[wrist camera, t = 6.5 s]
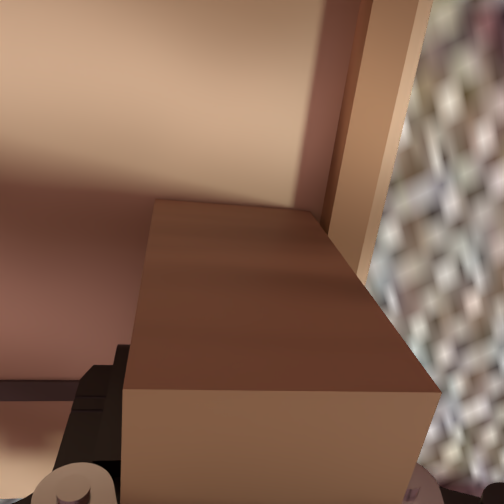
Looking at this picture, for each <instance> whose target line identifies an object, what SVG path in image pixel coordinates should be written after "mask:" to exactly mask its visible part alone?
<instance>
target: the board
mask: <svg viewBox="0 0 504 504" xmlns="http://www.w3.org/2000/svg"><path fill="white" fill-rule="evenodd" d="M432 3H433V0H0V499H10V498H25V497H27V496H28V495H30V494H32V493H33V492H34V491H35V489H36V487H37V485H38V484H39V483H40V482H41V480H42V479H44V478H45V477H46V476H47V475H48V474H49V473H51V472H52V470H53V467H54V464H55V461H56V458H57V454H58V451H59V448H60V444H61V441H62V438H63V434H64V431H65V428H66V424H67V421H68V418H69V414H70V413H71V408H72V404H73V401H74V399H75V394H76V391H77V388H78V384H79V381H80V379H81V378H82V376H83V375H84V374H85V373H86V372H87V371H88V370H89V369H90V368H91V367H92V366H93V365H113V362H114V357H115V353H116V348H117V345H118V344H130V343H131V337H132V332H133V326H134V320H135V314H136V308H137V302H138V296H139V290H140V285H141V279H142V273H143V267H144V261H145V255H146V249H147V244H148V238H149V232H150V226H151V220H152V214H153V208H154V203H155V199H163V200H176V201H189V202H201V203H214V204H226V205H239V206H251V207H264V208H277V209H289V210H302V211H310V212H311V213H312V215H313V216H314V218H315V219H316V220H317V222H318V223H319V224H320V226H321V227H322V229H323V230H324V231H325V233H326V234H327V235H328V237H329V238H330V240H331V241H332V242H333V244H334V245H335V246H336V248H337V249H338V251H339V252H340V253H341V255H342V256H343V257H344V259H345V260H346V262H347V263H348V264H349V266H350V267H351V268H352V270H353V271H354V273H355V274H356V275H357V277H358V278H359V279H360V281H361V282H362V284H363V285H364V286H365V283H366V279H367V275H368V271H369V267H370V262H371V258H372V254H373V250H374V246H375V241H376V237H377V233H378V229H379V225H380V220H381V216H382V212H383V208H384V204H385V200H386V195H387V191H388V187H389V183H390V179H391V174H392V170H393V166H394V162H395V158H396V154H397V149H398V145H399V141H400V137H401V133H402V128H403V124H404V120H405V116H406V112H407V107H408V103H409V99H410V95H411V91H412V87H413V82H414V78H415V74H416V70H417V66H418V61H419V57H420V53H421V49H422V45H423V41H424V36H425V32H426V28H427V24H428V20H429V15H430V11H431V7H432Z"/></svg>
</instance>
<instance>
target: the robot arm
mask: <svg viewBox="0 0 504 504" xmlns="http://www.w3.org/2000/svg"><path fill="white" fill-rule="evenodd" d="M129 349H130V344H118V345H117V348H116V353H115V357H114V362H113V365H93V366H92V367H91V368H90V369H89V370H88V371H87V372H86V373H85V374H84V375H83V376H82V378H81V379H80V381H79V384H78V388H77V391H76V394H75V399H74V401H73V404H72V408H71V413H70V414H69V418H68V421H67V424H66V428H65V431H64V434H63V438H62V441H61V444H60V448H59V451H58V454H57V458H56V461H55V464H54V467H53V470H52V472H51V473H49V474H48V475H47V476H46V477H45V478H44V479H42V480H41V482H40V483H39V484H38V485H37V487H36V489H35V491H34V492H33V493H32V494H30V495H28V496H27V497H25V498H23V499H21V500H19V501H17V502H15V503H12V504H120V489H121V443H122V397H123V384H124V378H125V373H126V367H127V361H128V355H129ZM401 504H504V483H501V482H499V483H493V484H490V485H488V486H487V487H486V488H485V489H484V492H483V494H482V496H481V498H479V497H475V496H471V495H467V494H464V493H460V492H456V491H452V490H448V489H445V488H442V487H440V486H439V485H438V483H437V482H436V480H435V478H434V477H433V476H432V475H431V474H430V473H429V472H428V470H426V469H425V468H424V467H423V466H421V465H420V464H418V463H417V462H416V465H415V468H414V470H413V473H412V476H411V479H410V481H409V484H408V487H407V490H406V492H405V495H404V498H403V501H402V503H401Z"/></svg>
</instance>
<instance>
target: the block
mask: <svg viewBox="0 0 504 504" xmlns="http://www.w3.org/2000/svg"><path fill="white" fill-rule="evenodd" d="M441 394H442V392H441V391H440V389H439V388H438V387H437V385H436V384H435V383H434V381H433V380H432V378H431V377H430V376H429V374H428V373H427V372H426V370H425V369H424V367H423V366H422V365H421V363H420V362H419V361H418V359H417V358H416V356H415V355H414V354H413V352H412V351H411V350H410V348H409V347H408V345H407V344H406V343H405V341H404V340H403V339H402V337H401V336H400V334H399V333H398V332H397V330H396V329H395V328H394V326H393V325H392V323H391V322H390V321H389V319H388V318H387V317H386V315H385V314H384V312H383V311H382V310H381V308H380V307H379V306H378V304H377V303H376V301H375V300H374V299H373V297H372V296H371V295H370V293H369V292H368V290H367V289H366V288H365V286H364V285H363V284H362V282H361V281H360V279H359V278H358V277H357V275H356V274H355V273H354V271H353V270H352V268H351V267H350V266H349V264H348V263H347V262H346V260H345V259H344V257H343V256H342V255H341V253H340V252H339V251H338V249H337V248H336V246H335V245H334V244H333V242H332V241H331V240H330V238H329V237H328V235H327V234H326V233H325V231H324V230H323V229H322V227H321V226H320V224H319V223H318V222H317V220H316V219H315V218H314V216H313V215H312V213H311V212H310V211H302V210H289V209H277V208H264V207H251V206H239V205H226V204H214V203H201V202H189V201H176V200H163V199H155V203H154V208H153V214H152V220H151V226H150V232H149V238H148V244H147V249H146V255H145V261H144V267H143V273H142V279H141V285H140V290H139V296H138V302H137V308H136V314H135V320H134V326H133V332H132V337H131V343H130V349H129V355H128V361H127V367H126V373H125V378H124V384H123V397H122V443H121V489H120V504H401V503H402V501H403V498H404V495H405V492H406V490H407V487H408V484H409V481H410V479H411V476H412V473H413V470H414V468H415V465H416V462H417V459H418V457H419V454H420V451H421V448H422V446H423V443H424V440H425V437H426V435H427V432H428V429H429V426H430V424H431V421H432V418H433V415H434V413H435V410H436V407H437V405H438V402H439V399H440V396H441Z"/></svg>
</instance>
